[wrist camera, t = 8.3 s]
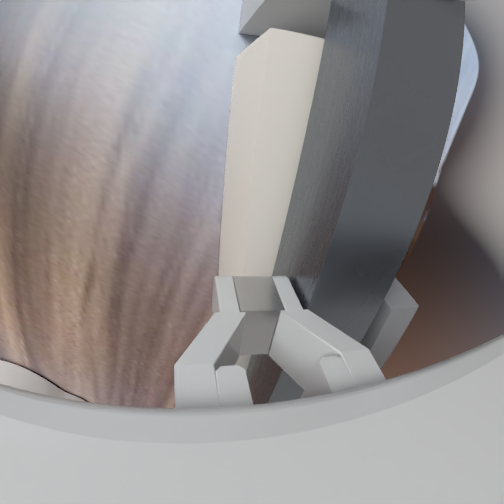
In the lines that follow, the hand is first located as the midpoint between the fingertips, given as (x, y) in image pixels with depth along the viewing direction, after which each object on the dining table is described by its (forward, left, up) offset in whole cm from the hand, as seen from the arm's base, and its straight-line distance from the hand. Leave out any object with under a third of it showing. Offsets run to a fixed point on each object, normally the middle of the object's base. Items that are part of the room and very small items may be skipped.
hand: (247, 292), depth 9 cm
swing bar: (+3, -3, -1) cm, 4 cm away
